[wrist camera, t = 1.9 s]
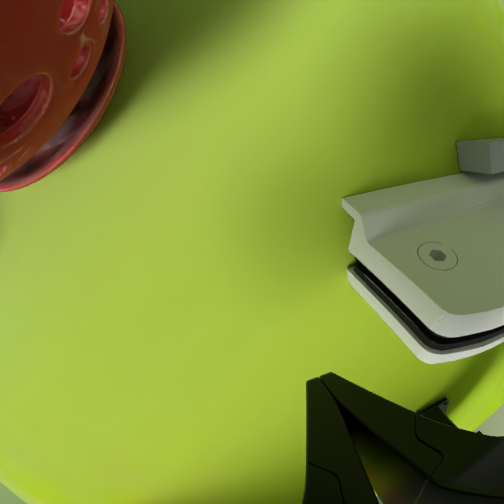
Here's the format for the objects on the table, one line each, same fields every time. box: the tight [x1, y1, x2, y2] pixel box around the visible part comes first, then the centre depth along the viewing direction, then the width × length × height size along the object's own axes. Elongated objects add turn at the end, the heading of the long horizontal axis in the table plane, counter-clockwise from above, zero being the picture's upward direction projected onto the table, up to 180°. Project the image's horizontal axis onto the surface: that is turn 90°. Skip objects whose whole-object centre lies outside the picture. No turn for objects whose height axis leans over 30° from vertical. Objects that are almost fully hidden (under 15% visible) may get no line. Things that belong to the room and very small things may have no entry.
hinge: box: [342, 171, 504, 364], centre depth 14 cm, size 17×5×10 cm, turn 102°
